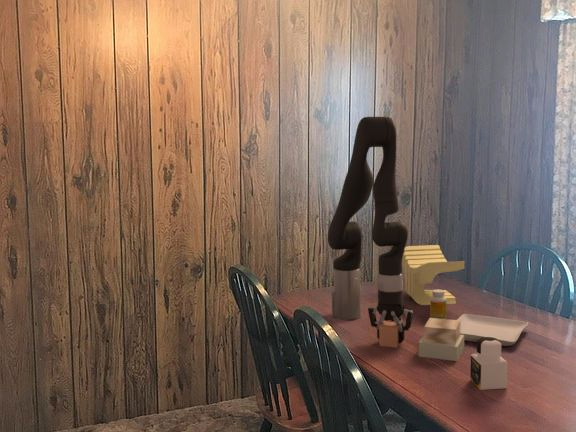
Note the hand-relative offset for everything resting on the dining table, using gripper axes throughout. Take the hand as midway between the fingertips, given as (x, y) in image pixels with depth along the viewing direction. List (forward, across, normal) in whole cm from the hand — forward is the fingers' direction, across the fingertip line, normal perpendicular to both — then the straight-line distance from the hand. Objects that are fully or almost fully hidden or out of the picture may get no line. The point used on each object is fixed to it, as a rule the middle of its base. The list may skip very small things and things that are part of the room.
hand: (390, 341), depth 203 cm
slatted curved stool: (+1, 0, +52) cm, 52 cm away
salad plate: (+1, +26, +18) cm, 32 cm away
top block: (-3, +16, -2) cm, 17 cm away
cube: (+1, 0, 0) cm, 1 cm away
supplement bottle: (+1, +8, +30) cm, 31 cm away
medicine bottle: (+1, +32, -21) cm, 38 cm away
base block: (+1, +16, -2) cm, 16 cm away
